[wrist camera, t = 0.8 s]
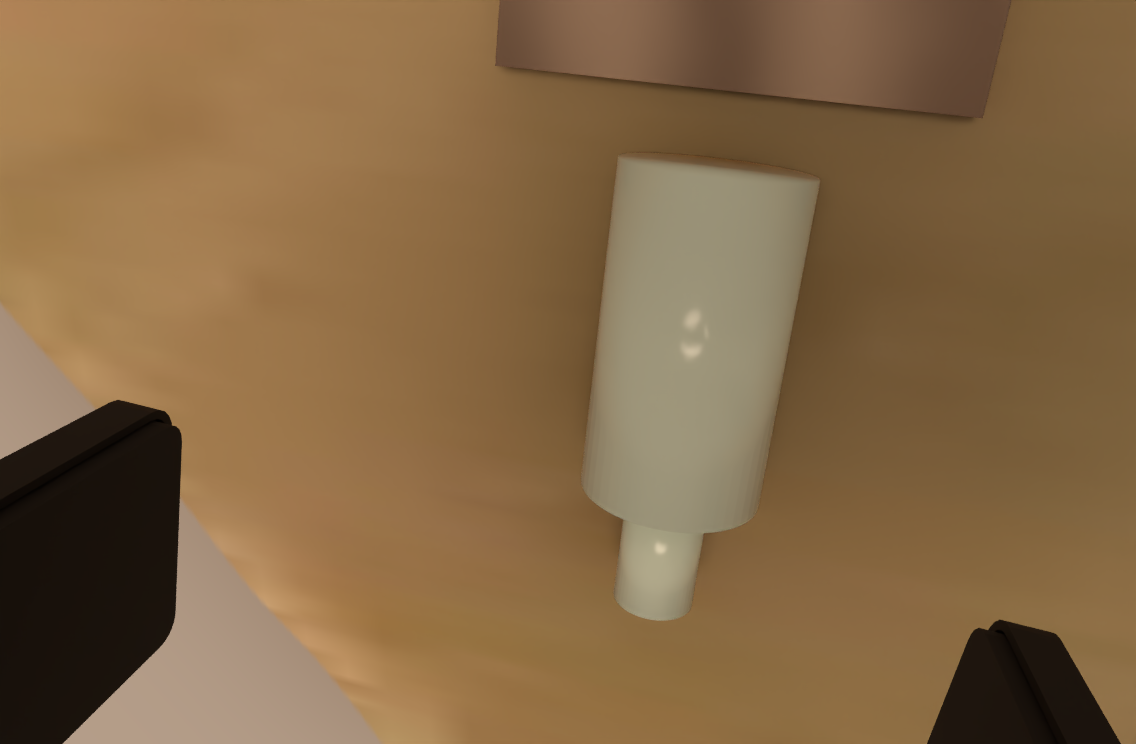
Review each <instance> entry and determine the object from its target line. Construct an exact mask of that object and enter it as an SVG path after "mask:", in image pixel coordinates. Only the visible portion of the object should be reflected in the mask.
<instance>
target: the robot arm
mask: <svg viewBox="0 0 1136 744" xmlns="http://www.w3.org/2000/svg"><path fill="white" fill-rule="evenodd" d="M181 449H182V438H181V433H180V430H179V429H178V428H177V427H176V426H172V423H171V420H170V417H169V415H168V414H167V413H166V412H165V411H161V410H157V409H153V408H149V407H145V406H141V405H137V404H133V403H129V402H125V401H121V400H116V401H113V402H110V403H108V404H106V405H104V406H102V407H100V408H98V409H97V410H95V411H93V412H91V413H89V414H87V415H85V416H83V417H81V418H79V419H77V420H75V421H73V422H71V423H70V424H68V425H66V426H64V427H62V428H60V429H58V430H56V431H55V432H52V433H50V434H48V435H47V436H45V437H43V438H41V439H39V440H37V441H35V442H33V443H31V444H29V445H27V446H26V447H23V448H21V449H20V450H18V451H16V452H14V453H12V454H10V455H8V456H6V457H4V458H2V459H0V744H63V743H64V741H66V740H67V739H68V738H69V737H70V736H71V735H72V734H73V733H74V731H76V729H78V728H79V727H80V726H81V725H82V724H83V723H84V722H85V721H86V720H87V719H88V718H89V717H90V716H91V715H92V714H93V713H94V712H95V711H96V710H97V709H98V708H99V707H100V706H101V705H102V704H103V703H104V702H105V701H106V700H107V699H108V698H109V697H110V696H111V695H112V694H113V693H114V692H115V691H116V690H117V689H118V688H119V687H120V686H121V685H122V684H123V683H124V682H125V681H126V680H127V679H128V678H129V677H130V676H131V675H132V674H133V673H134V672H135V671H136V670H137V669H138V668H139V667H140V666H141V665H142V664H143V663H144V662H145V661H146V660H147V659H148V658H149V657H151V656H152V654H154V653H155V651H157V650H158V649H159V648H160V646H161V645H162V644H163V643H164V642H165V640H166V639H167V637H168V635H169V633H170V631H171V629H172V626H173V623H174V618H175V610H176V582H177V557H178V555H177V554H178V530H179V503H180V476H181ZM927 744H1121V743H1120V742H1119V740H1118V738H1117V736H1116V735H1115V733H1114V731H1113V729H1112V728H1111V726H1110V724H1109V722H1108V721H1107V719H1106V717H1105V716H1104V714H1103V712H1102V710H1101V709H1100V707H1099V705H1098V703H1097V702H1096V700H1095V698H1094V696H1093V695H1092V693H1091V691H1090V690H1089V688H1088V686H1087V684H1086V683H1085V681H1084V679H1083V677H1082V676H1081V674H1080V672H1079V670H1078V669H1077V667H1076V665H1075V664H1074V662H1073V660H1072V658H1071V657H1070V655H1069V653H1068V651H1067V650H1066V648H1065V646H1064V645H1063V643H1062V641H1061V639H1060V638H1059V637H1058V636H1057V635H1056V634H1054V633H1051V632H1047V631H1043V630H1039V629H1035V628H1031V627H1027V626H1023V625H1019V624H1015V623H1011V622H1007V621H1003V620H998V621H996V622H994V623H993V625H992V626H991V627H990V628H989V630H985V629H981V628H977V629H975V630H974V631H973V633H972V634H971V636H970V638H969V640H968V642H967V644H966V647H965V649H964V652H963V654H962V657H961V660H960V662H959V665H958V667H957V670H956V672H955V675H954V677H953V680H952V682H951V685H950V687H949V690H948V692H947V695H946V697H945V700H944V702H943V705H942V707H941V710H940V712H939V715H938V718H937V720H936V723H935V725H934V728H933V730H932V733H931V735H930V738H929V740H928V743H927Z"/></svg>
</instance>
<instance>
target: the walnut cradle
mask: <svg viewBox="0 0 1136 744" xmlns="http://www.w3.org/2000/svg"><path fill="white" fill-rule="evenodd" d="M1010 4H1011V0H500V5H499V20H498V35H497V49H496V64H495V66H504V67H513V68H523V69H532V70H541V71H550V72H560V73H569V74H578V75H587V76H596V77H606V78H615V79H624V80H633V81H643V82H652V83H661V84H670V85H680V86H689V87H698V88H707V89H717V90H726V91H735V92H744V93H754V94H763V95H772V96H781V97H791V98H800V99H809V100H818V101H828V102H837V103H846V104H855V105H864V106H874V107H883V108H892V109H901V110H911V111H920V112H929V113H938V114H948V115H957V116H966V117H975V118H983V115H984V111H985V107H986V102H987V98H988V94H989V90H990V86H991V82H992V78H993V74H994V70H995V65H996V61H997V57H998V53H999V49H1000V45H1001V41H1002V37H1003V33H1004V28H1005V24H1006V20H1007V16H1008V12H1009V8H1010Z"/></svg>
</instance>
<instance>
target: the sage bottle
mask: <svg viewBox="0 0 1136 744" xmlns="http://www.w3.org/2000/svg"><path fill="white" fill-rule="evenodd" d="M819 185H820V179H819V178H818V177H816V176H814V175H811V174H808V173H804V172H800V171H796V170H792V169H787V168H782V167H777V166H771V165H766V164H759V163H753V162H746V161H739V160H730V159H722V158H714V157H705V156H696V155H685V154H671V153H648V152H636V153H624V154H620V155H618V160H617V169H616V178H615V186H614V195H613V204H612V212H611V221H610V230H609V239H608V247H607V256H606V265H605V273H604V282H603V291H602V299H601V308H600V317H599V325H598V334H597V343H596V352H595V360H594V369H593V378H592V386H591V395H590V404H589V412H588V421H587V430H586V438H585V447H584V456H583V465H582V473H581V484H582V487H583V490H584V491H585V493H586V495H587V496H588V497H589V498H590V499H591V500H592V501H593V502H594V503H596V504H597V505H598V506H599V507H601V508H602V509H604V510H605V511H607V512H609V513H611V514H613V515H615V516H617V517H619V518H621V519H623V525H622V533H621V540H620V548H619V555H618V563H617V570H616V577H615V585H614V597H615V600H616V601H617V603H618V604H619V605H620V606H621V607H622V608H623V609H625V610H626V611H628V612H630V613H632V614H634V615H636V616H639V617H642V618H645V619H650V620H659V621H665V620H673V619H677V618H680V617H682V616H684V615H686V614H687V613H688V612H689V611H690V609H691V607H692V601H693V595H694V590H695V584H696V578H697V572H698V566H699V560H700V554H701V548H702V542H703V536H704V533H713V532H720V531H725V530H730V529H733V528H736V527H739V526H741V525H743V524H745V523H747V522H748V521H749V520H751V519H752V518H753V517H754V515H755V514H756V512H757V510H758V507H759V501H760V496H761V491H762V486H763V480H764V475H765V470H766V464H767V459H768V454H769V449H770V443H771V438H772V433H773V428H774V422H775V417H776V412H777V406H778V401H779V396H780V391H781V385H782V380H783V375H784V369H785V364H786V359H787V354H788V348H789V343H790V338H791V333H792V327H793V322H794V317H795V311H796V306H797V301H798V296H799V290H800V285H801V280H802V274H803V269H804V264H805V259H806V253H807V248H808V243H809V238H810V232H811V227H812V222H813V216H814V211H815V206H816V201H817V195H818V190H819Z"/></svg>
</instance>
